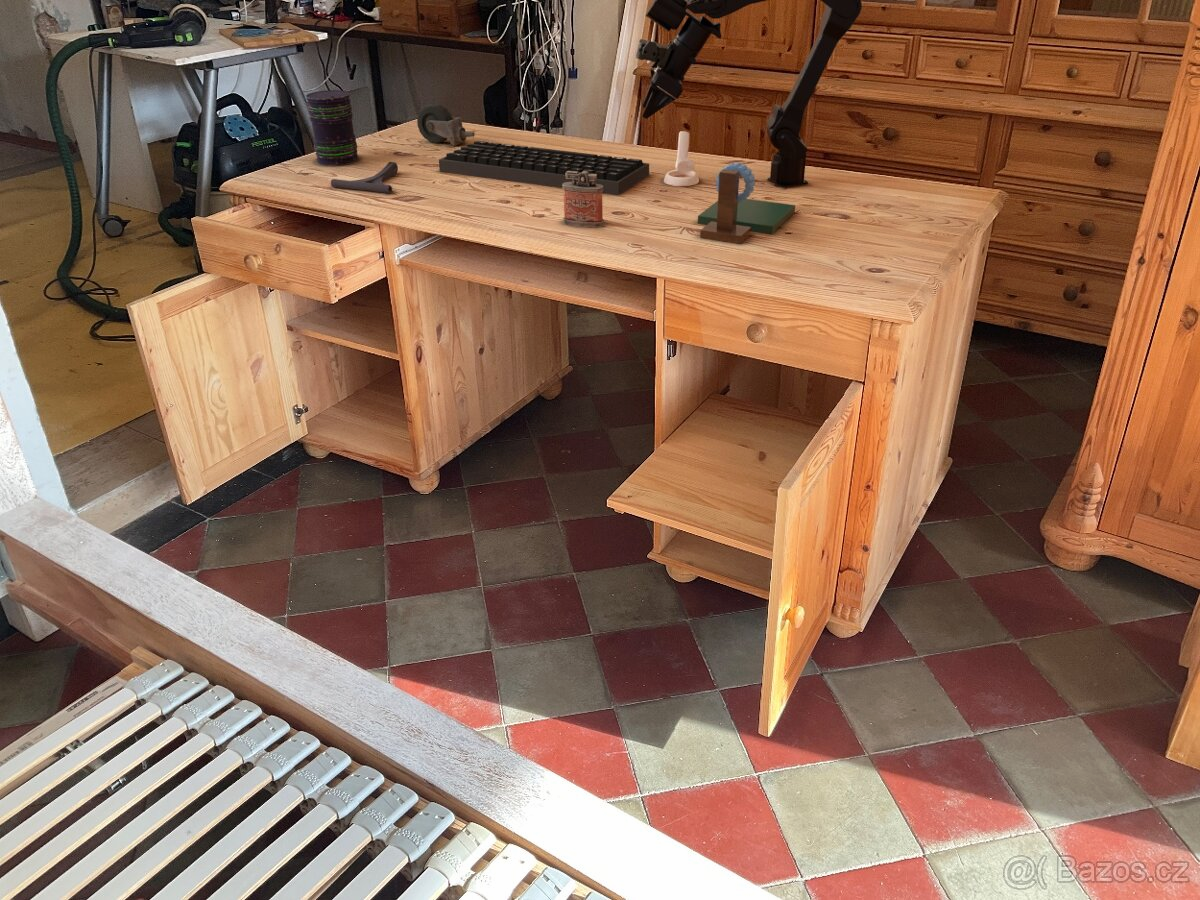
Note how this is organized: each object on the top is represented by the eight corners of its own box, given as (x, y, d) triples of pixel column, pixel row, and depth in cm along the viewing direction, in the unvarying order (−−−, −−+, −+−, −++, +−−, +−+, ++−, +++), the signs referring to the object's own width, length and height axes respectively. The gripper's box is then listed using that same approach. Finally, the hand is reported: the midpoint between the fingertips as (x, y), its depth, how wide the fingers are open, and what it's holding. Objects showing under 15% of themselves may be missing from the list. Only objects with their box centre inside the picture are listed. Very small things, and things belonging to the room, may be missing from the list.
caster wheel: (417, 147, 244) (469, 146, 238) (410, 107, 239) (462, 105, 233) (429, 141, 248) (480, 140, 242) (422, 102, 243) (474, 100, 237)
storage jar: (310, 159, 232) (299, 93, 224) (350, 152, 236) (340, 88, 229) (324, 168, 225) (313, 101, 217) (365, 161, 229) (356, 95, 221)
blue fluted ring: (719, 197, 183) (720, 160, 180) (754, 202, 181) (756, 164, 177) (714, 201, 181) (716, 163, 178) (749, 205, 179) (752, 167, 175)
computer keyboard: (649, 175, 216) (649, 158, 214) (618, 195, 204) (618, 176, 202) (477, 154, 233) (476, 138, 231) (439, 171, 221) (438, 154, 219)
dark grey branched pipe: (423, 175, 219) (422, 162, 217) (388, 194, 207) (386, 181, 205) (368, 170, 223) (367, 158, 222) (331, 188, 211) (329, 175, 210)
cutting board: (723, 203, 198) (723, 195, 197) (794, 212, 192) (795, 205, 192) (697, 223, 188) (697, 215, 187) (772, 234, 182) (772, 226, 181)
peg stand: (719, 221, 188) (722, 159, 182) (759, 227, 185) (763, 163, 179) (699, 237, 181) (702, 173, 174) (740, 243, 177) (745, 178, 171)
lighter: (606, 222, 189) (605, 171, 183) (600, 228, 186) (599, 175, 181) (567, 218, 191) (565, 167, 186) (560, 224, 188) (559, 172, 183)
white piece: (693, 146, 217) (705, 133, 210) (691, 198, 215) (703, 187, 209) (661, 140, 215) (673, 128, 208) (659, 193, 213) (670, 182, 207)
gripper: (653, 15, 202) (612, 81, 209) (654, 29, 186) (610, 100, 193) (697, 46, 205) (655, 110, 212) (701, 62, 189) (656, 131, 196)
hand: (644, 112), depth 203 cm, fingers open, 9 cm apart
